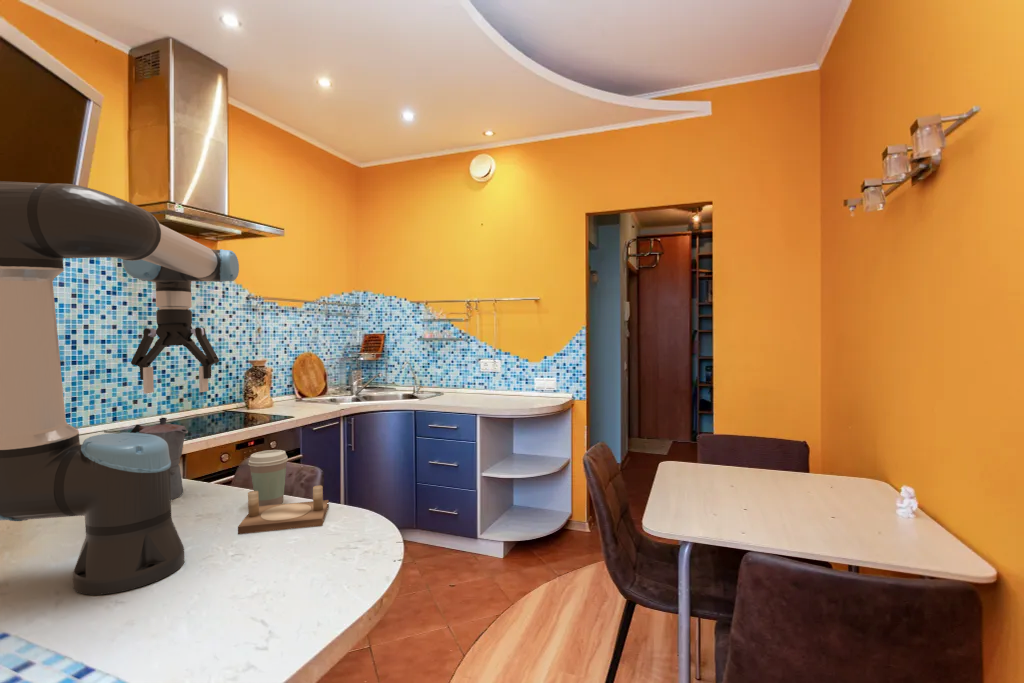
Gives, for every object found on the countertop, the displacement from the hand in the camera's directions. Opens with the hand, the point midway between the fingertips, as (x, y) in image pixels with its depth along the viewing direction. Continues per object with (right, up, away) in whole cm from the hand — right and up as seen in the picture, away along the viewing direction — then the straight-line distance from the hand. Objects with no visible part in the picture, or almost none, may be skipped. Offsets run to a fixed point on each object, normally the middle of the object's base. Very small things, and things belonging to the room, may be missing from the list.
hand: (176, 392), depth 128 cm
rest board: (+37, -26, -19) cm, 49 cm away
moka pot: (-2, -26, -3) cm, 26 cm away
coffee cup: (+28, -26, -9) cm, 39 cm away
